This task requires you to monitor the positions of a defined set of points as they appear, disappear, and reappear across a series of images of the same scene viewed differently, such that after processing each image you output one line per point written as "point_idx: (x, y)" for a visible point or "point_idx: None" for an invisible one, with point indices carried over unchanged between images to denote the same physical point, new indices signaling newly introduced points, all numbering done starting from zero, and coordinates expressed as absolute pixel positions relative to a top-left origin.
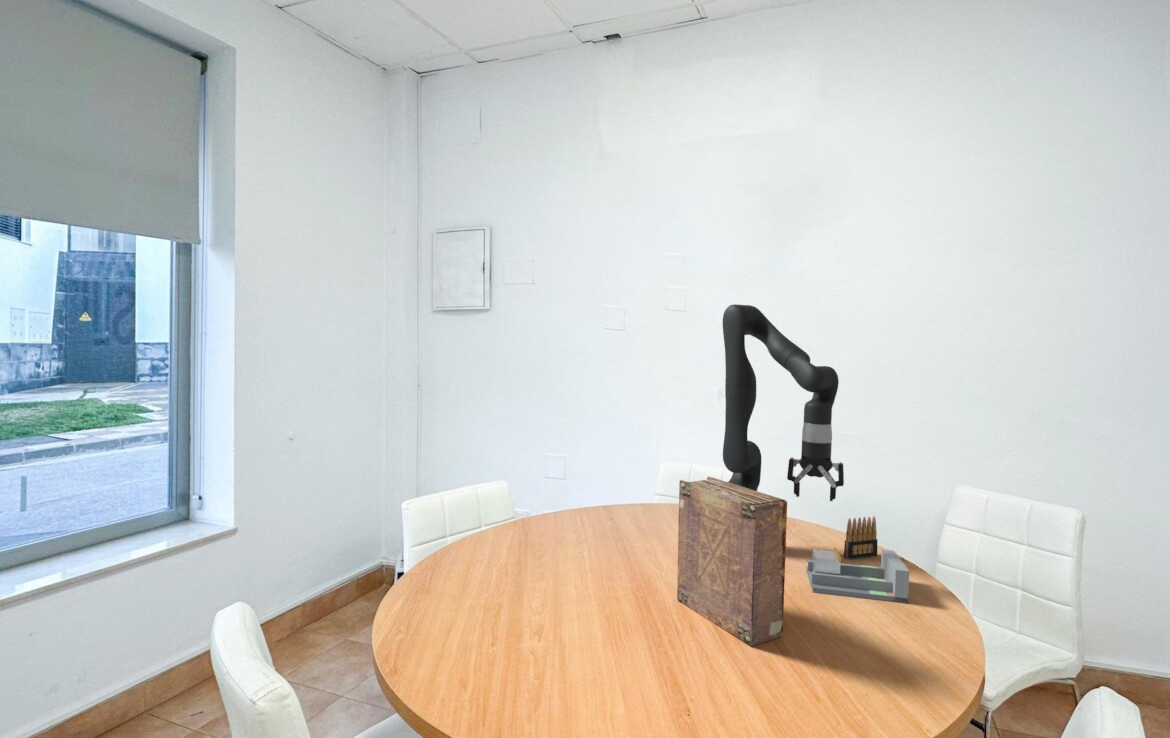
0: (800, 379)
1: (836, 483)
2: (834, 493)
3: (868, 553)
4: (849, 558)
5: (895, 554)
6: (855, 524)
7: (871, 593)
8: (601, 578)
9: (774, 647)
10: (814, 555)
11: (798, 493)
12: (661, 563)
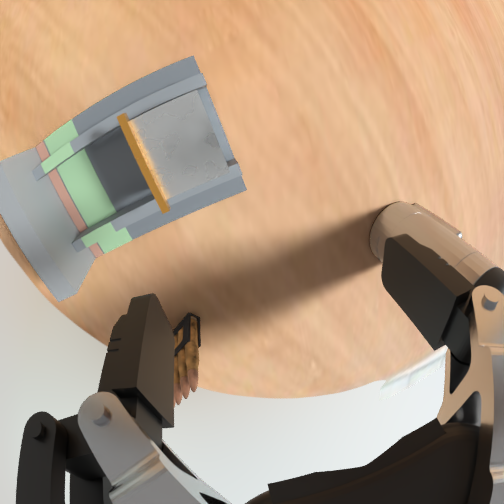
0: None
1: (85, 441)
2: (114, 352)
3: None
4: (186, 315)
5: (42, 277)
6: (181, 383)
7: (70, 122)
8: (484, 5)
9: None
10: (210, 124)
11: (405, 245)
12: (471, 77)
